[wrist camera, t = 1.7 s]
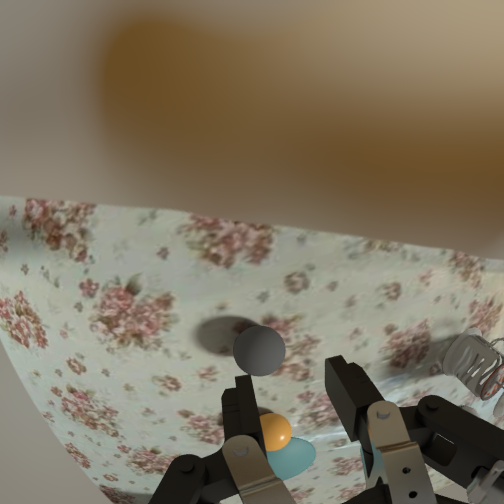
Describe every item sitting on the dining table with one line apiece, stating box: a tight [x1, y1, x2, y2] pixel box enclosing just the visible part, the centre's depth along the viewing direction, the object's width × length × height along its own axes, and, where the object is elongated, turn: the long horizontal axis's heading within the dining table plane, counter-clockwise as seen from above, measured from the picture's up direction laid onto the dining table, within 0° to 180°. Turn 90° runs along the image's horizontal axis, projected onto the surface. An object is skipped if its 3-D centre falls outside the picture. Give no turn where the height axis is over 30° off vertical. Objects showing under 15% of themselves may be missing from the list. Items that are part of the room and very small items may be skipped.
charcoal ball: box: [233, 326, 285, 376], centre depth 32 cm, size 6×6×6 cm
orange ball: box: [260, 413, 292, 451], centre depth 36 cm, size 6×6×6 cm
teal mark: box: [266, 438, 316, 481], centre depth 42 cm, size 14×14×1 cm
